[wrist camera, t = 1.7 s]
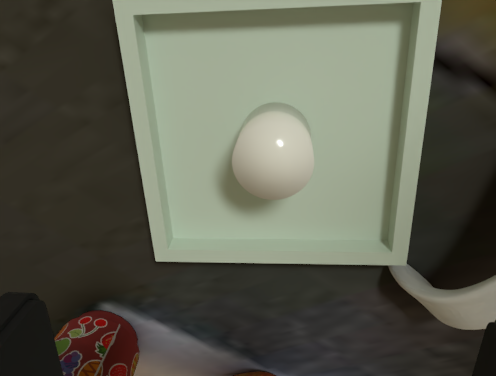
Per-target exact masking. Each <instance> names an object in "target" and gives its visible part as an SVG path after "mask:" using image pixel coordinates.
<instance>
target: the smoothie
mask: <svg viewBox="0 0 496 376" xmlns="http://www.w3.org/2000/svg"><path fill="white" fill-rule="evenodd" d="M54 340H55V344H56V347H57V351H58V355H59V359H60V363H61V367H62V371H63V375H64V376H133V375H134V372H135V369H136V366H137V363H138V360H139V348H138V345H137V341H138V339H137V336H136V332H135V330H134V329H133V328H132V326H131V325H130V324H129V323H128V322H127V321H126V320H124V319H123V318H122V317H120V316H118V315H116V314H114V313H111V312H106V311H102V310H100V311H89V312H86V313H84V314H82V315H81V316H79V317H78V318H75V319H72V320H70V321H69V322H68V323H67V324H65V325H64V326H63V328H62V329H61V330H60V332H59V333H58V334H57V335H56V337H55V338H54Z"/></svg>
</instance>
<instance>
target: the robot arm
mask: <svg viewBox="0 0 496 376" xmlns="http://www.w3.org/2000/svg"><path fill="white" fill-rule="evenodd" d="M0 376H64V375H63V371H62V367H61V363H60V359H59V355H58V351H57V347H56V344H55V340H54V336H53V332H52V328H51V324H50V320H49V316H48V312H47V308H46V305H45V303H44V302H43V301H41V300H39V298H38V296H37V295H36V294H33V293H17V292H8V293H5V294H4V295H2V296H1V297H0ZM472 376H496V320H495V322H489V323H488V324H487V327H486V330H485V333H484V337H483V340H482V343H481V347H480V350H479V354H478V357H477V361H476V364H475V367H474V371H473V374H472Z"/></svg>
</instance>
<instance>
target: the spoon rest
mask: <svg viewBox="0 0 496 376" xmlns="http://www.w3.org/2000/svg"><path fill="white" fill-rule="evenodd" d="M388 267H389V270H390V272H391V274H392V275H393V277H394V278H395V280H396V281H397V283H398V284H399V285H400V286H401V287H402V288H403V289H404V290H406V291H407V292H408V293H409V294H410V295H412V296H413V297H414V298H415V299H417V300H418V301H419V302H420V303H421V304H422V305H423V306H425V307H426V308H427V309H428V310H429V311H430V312H431V313H432V314H433V315H434V316H435V317H436V318H437V319H438V320H440V321H441V322H442V323H444V324H446V325H448V326H451V327H454V328H458V329H464V330H478V329H486V327H487V324H488V323H489V322H495V320H496V275H495V276H493V277H491V278H489V279H487V280H485V281H482V282H480V283H478V284H475V285H472V286H469V287H465V288H462V289H456V290H444V289H436V288H433V286H432V285H431V284H430V283H429V282H428V281H427V280H426V279H425V278H423V277H422V276H421V275H420V274H419V273H418V272H417V271H416V270H414V269H413V268H412V267H411V266H409V265H408V264H406V266H402V265H388Z"/></svg>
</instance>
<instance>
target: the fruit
mask: <svg viewBox="0 0 496 376" xmlns="http://www.w3.org/2000/svg"><path fill="white" fill-rule="evenodd" d="M233 376H276V375H273V374H271V373H268V372H261V371H258V372H247V373H241V374H237V375H233Z"/></svg>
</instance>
